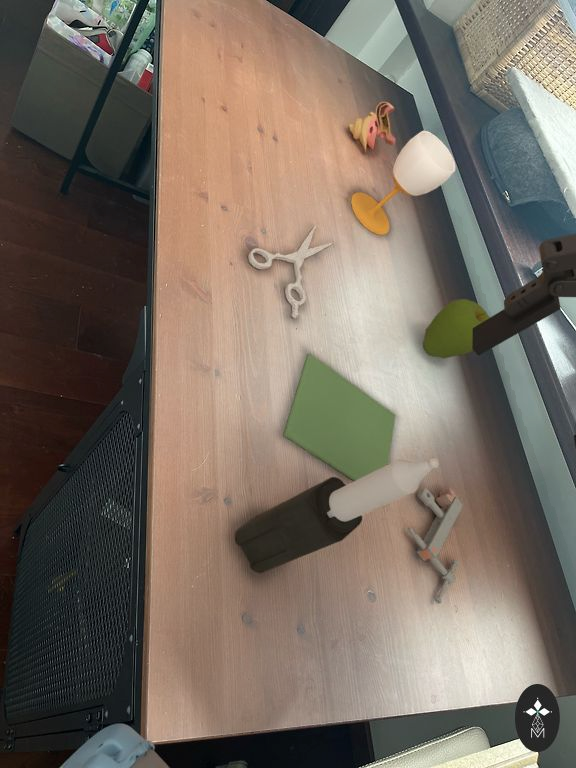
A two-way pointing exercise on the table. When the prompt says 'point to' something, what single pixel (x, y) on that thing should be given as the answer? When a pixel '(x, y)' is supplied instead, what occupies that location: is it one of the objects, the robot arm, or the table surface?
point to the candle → (325, 514)
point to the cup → (408, 178)
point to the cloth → (339, 422)
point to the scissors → (297, 260)
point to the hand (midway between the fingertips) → (528, 398)
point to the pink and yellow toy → (374, 126)
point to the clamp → (438, 532)
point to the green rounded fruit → (453, 329)
